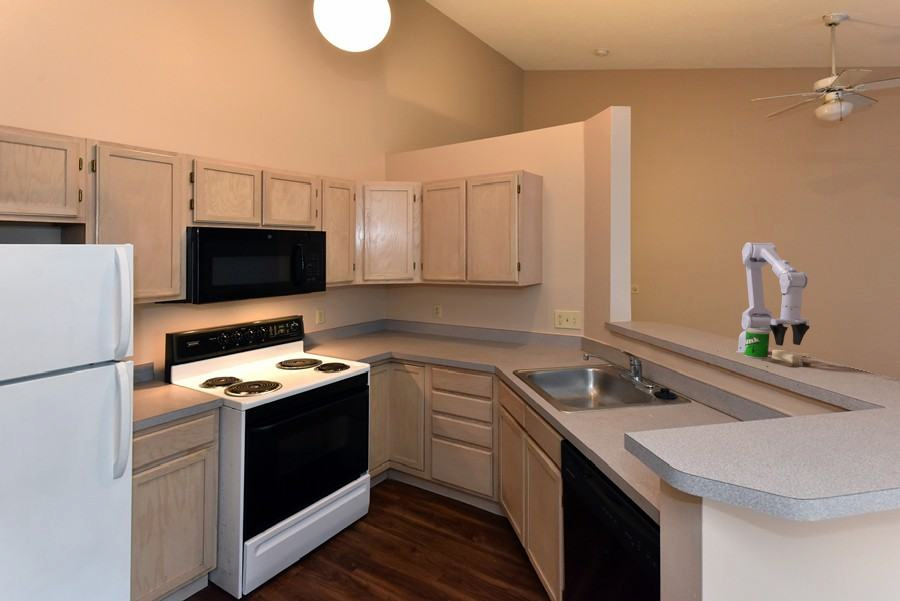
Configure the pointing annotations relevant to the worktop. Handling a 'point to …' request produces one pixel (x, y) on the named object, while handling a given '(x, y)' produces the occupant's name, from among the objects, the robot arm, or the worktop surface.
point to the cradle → (801, 363)
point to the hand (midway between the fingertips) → (787, 344)
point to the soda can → (756, 342)
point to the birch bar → (786, 356)
